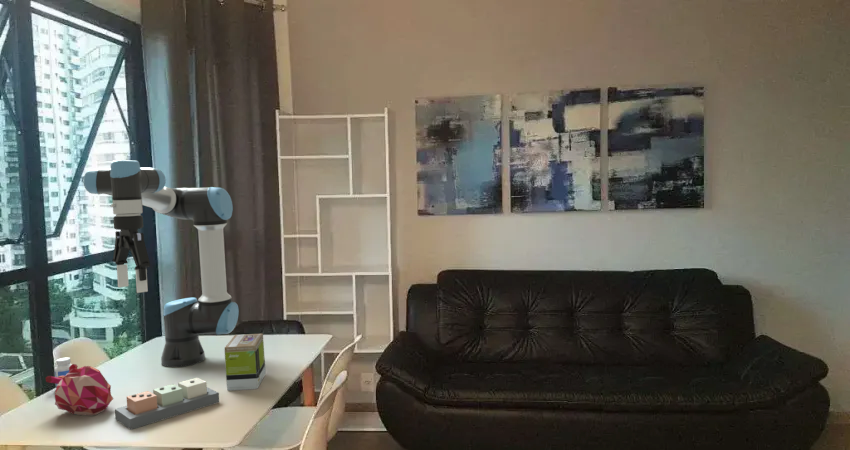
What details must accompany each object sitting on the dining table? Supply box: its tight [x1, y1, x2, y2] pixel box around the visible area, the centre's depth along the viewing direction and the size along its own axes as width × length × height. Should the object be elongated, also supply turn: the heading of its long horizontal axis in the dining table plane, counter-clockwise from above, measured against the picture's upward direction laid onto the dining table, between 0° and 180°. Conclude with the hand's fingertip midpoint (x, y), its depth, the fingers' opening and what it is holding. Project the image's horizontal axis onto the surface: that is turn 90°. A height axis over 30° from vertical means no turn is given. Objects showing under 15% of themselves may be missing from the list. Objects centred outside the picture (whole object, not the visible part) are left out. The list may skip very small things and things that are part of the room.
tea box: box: [224, 333, 267, 392], centre depth 201 cm, size 15×10×15 cm, turn 5°
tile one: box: [177, 377, 208, 399], centre depth 183 cm, size 6×6×4 cm
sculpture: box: [45, 363, 114, 416], centre depth 179 cm, size 14×12×20 cm
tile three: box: [126, 390, 157, 415], centre depth 172 cm, size 6×6×4 cm
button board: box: [114, 386, 220, 430], centre depth 178 cm, size 11×26×3 cm, turn 137°
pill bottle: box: [54, 356, 72, 388], centre depth 199 cm, size 6×5×10 cm
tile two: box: [152, 383, 183, 407], centre depth 178 cm, size 6×6×4 cm
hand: (132, 289), depth 173 cm, fingers open, 13 cm apart
